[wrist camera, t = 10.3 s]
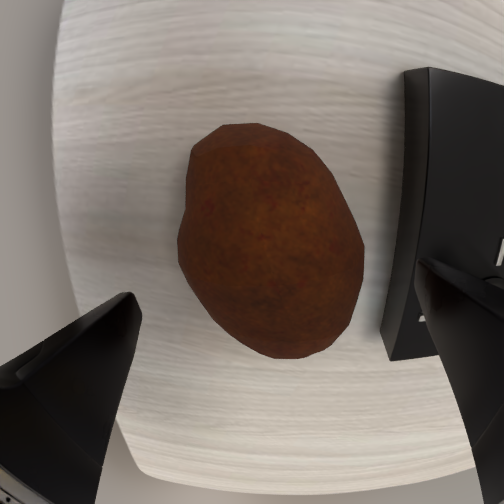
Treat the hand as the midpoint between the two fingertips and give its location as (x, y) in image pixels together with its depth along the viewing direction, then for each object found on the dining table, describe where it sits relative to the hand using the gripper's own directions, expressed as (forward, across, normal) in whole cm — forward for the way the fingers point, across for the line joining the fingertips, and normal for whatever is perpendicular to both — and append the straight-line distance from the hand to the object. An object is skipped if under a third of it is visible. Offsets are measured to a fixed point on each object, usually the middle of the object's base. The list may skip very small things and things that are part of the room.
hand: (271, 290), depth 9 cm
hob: (+6, -11, +1) cm, 12 cm away
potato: (+6, 0, 0) cm, 6 cm away
